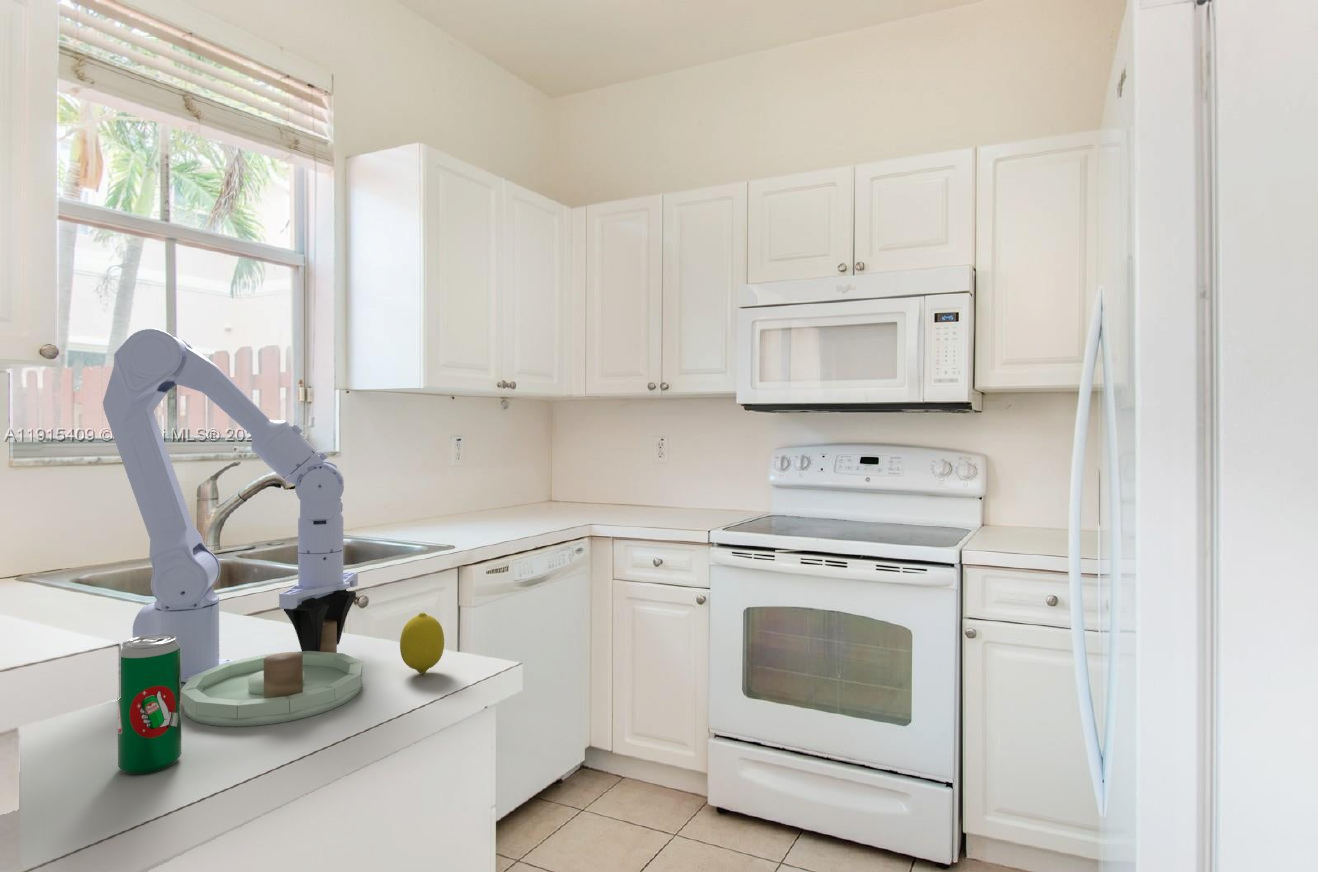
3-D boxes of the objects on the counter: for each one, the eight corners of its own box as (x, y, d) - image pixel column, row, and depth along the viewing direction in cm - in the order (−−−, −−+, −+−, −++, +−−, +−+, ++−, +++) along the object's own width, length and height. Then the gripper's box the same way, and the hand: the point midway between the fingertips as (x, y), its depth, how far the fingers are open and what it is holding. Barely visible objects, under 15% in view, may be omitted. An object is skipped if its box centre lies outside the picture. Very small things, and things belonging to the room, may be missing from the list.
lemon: (431, 682, 98) (431, 619, 97) (391, 678, 99) (391, 616, 99) (451, 668, 103) (452, 608, 103) (413, 665, 104) (413, 606, 104)
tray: (141, 718, 85) (141, 696, 85) (262, 665, 104) (262, 647, 104) (294, 733, 81) (294, 710, 81) (391, 675, 100) (391, 656, 100)
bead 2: (298, 662, 105) (298, 626, 105) (317, 654, 109) (317, 618, 109) (325, 664, 104) (325, 627, 104) (342, 656, 108) (342, 620, 108)
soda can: (137, 754, 76) (137, 632, 76) (191, 752, 76) (191, 632, 76) (105, 777, 71) (104, 648, 71) (163, 776, 71) (162, 647, 71)
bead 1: (268, 696, 89) (268, 653, 89) (305, 693, 90) (305, 651, 90) (259, 708, 85) (259, 664, 85) (298, 705, 86) (298, 661, 86)
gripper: (313, 561, 98) (313, 667, 99) (376, 543, 113) (376, 636, 113) (264, 558, 100) (264, 663, 100) (333, 541, 114) (333, 633, 114)
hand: (321, 649), depth 106 cm, fingers closed on bead 2, 4 cm apart
